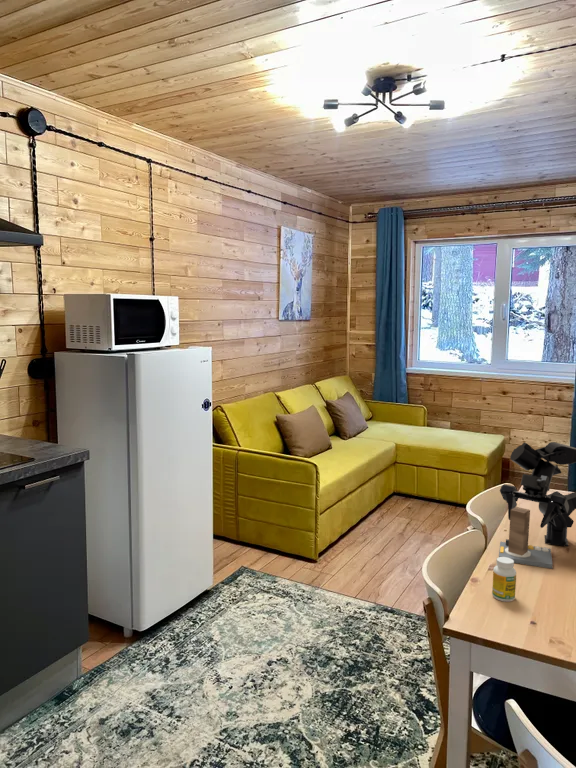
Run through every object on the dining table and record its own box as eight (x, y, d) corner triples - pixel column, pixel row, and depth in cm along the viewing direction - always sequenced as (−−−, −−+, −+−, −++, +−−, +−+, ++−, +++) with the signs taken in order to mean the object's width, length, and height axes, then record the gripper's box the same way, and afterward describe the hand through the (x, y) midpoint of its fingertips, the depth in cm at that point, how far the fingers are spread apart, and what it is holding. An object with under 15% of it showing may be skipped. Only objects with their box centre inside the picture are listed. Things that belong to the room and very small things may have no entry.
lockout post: (514, 547, 170) (516, 506, 168) (527, 551, 167) (530, 509, 166) (508, 551, 167) (510, 509, 166) (521, 555, 164) (524, 513, 163)
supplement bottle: (501, 590, 146) (503, 553, 145) (519, 598, 142) (521, 561, 141) (487, 595, 143) (489, 558, 142) (505, 604, 139) (508, 566, 138)
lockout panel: (500, 545, 175) (500, 536, 175) (550, 552, 170) (551, 543, 170) (498, 560, 164) (499, 551, 164) (552, 568, 159) (552, 559, 159)
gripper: (503, 458, 176) (486, 501, 170) (568, 469, 164) (553, 516, 157) (512, 478, 183) (496, 520, 176) (575, 490, 171) (560, 536, 164)
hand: (525, 523), depth 168 cm, fingers open, 9 cm apart
